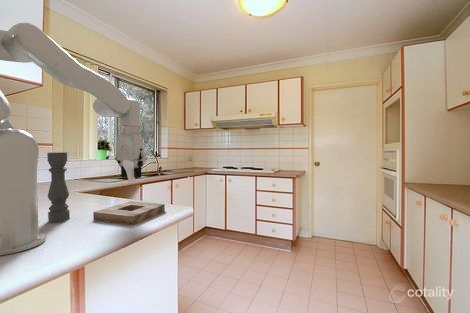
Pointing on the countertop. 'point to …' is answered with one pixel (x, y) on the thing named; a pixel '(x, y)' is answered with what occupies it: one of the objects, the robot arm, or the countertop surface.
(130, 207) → the socket block
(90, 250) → the countertop surface
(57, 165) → the candle holder
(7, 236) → the robot arm
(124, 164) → the lightbulb
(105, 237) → the countertop surface
